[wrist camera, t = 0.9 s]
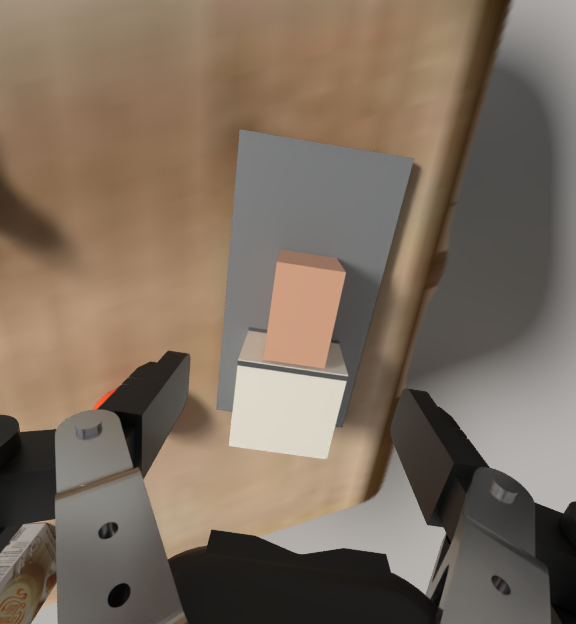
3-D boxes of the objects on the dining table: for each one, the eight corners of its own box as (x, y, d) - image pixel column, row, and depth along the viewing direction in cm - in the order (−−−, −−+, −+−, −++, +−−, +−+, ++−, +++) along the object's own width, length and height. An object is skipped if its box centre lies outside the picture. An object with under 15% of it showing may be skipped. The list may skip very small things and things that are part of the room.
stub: (280, 249, 27) (277, 261, 22) (336, 257, 27) (346, 272, 22) (269, 331, 30) (263, 359, 25) (319, 338, 30) (324, 368, 25)
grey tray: (242, 132, 25) (223, 109, 19) (408, 160, 26) (448, 147, 19) (218, 402, 35) (200, 451, 28) (340, 419, 35) (351, 472, 28)
